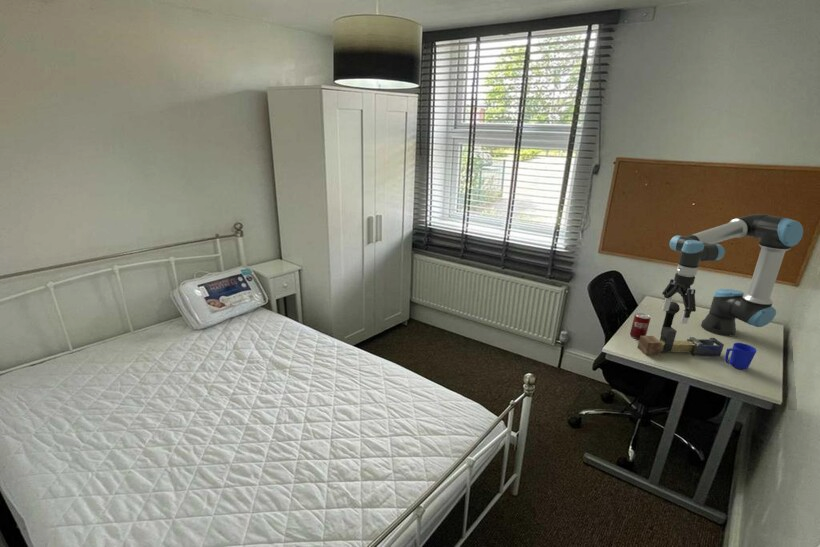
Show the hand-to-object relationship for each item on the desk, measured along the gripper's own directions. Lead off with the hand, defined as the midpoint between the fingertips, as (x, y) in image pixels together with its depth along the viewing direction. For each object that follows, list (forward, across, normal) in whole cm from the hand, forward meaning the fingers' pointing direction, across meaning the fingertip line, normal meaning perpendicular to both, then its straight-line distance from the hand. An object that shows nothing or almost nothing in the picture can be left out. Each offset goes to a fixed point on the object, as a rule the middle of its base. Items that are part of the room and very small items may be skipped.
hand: (673, 316), depth 187 cm
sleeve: (+19, 0, +18) cm, 26 cm away
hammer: (+17, 0, +3) cm, 18 cm away
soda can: (+19, -15, -5) cm, 25 cm away
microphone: (+19, -15, +9) cm, 26 cm away
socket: (+19, 0, -8) cm, 20 cm away
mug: (+19, +12, +25) cm, 34 cm away
